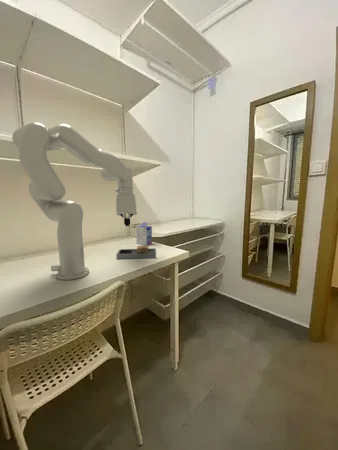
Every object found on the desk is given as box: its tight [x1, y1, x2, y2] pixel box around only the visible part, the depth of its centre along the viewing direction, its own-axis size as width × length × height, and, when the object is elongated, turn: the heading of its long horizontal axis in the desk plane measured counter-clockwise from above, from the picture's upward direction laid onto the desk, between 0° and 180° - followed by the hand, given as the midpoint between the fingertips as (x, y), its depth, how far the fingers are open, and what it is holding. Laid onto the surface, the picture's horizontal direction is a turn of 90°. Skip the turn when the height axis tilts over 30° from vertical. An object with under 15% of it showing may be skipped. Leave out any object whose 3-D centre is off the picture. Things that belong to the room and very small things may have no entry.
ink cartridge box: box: [135, 221, 153, 246], centre depth 140 cm, size 10×6×14 cm, turn 53°
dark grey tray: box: [115, 247, 157, 260], centre depth 115 cm, size 20×10×2 cm, turn 94°
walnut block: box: [136, 245, 150, 253], centre depth 115 cm, size 6×5×5 cm
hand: (127, 225), depth 113 cm, fingers closed
